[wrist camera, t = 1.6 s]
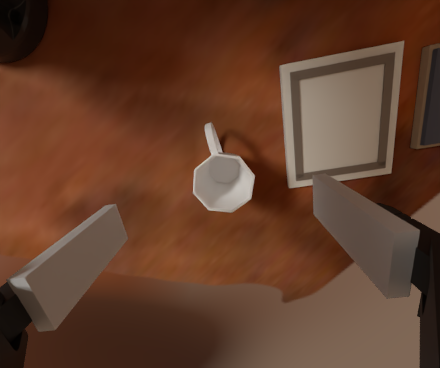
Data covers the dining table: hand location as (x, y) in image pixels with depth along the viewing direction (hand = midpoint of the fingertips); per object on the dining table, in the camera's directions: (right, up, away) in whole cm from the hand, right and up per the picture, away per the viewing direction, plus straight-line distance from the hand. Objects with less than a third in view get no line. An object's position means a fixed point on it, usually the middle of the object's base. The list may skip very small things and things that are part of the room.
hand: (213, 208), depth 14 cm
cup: (+1, +6, +16) cm, 17 cm away
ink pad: (+28, +13, +12) cm, 33 cm away
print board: (+16, +10, +14) cm, 23 cm away
